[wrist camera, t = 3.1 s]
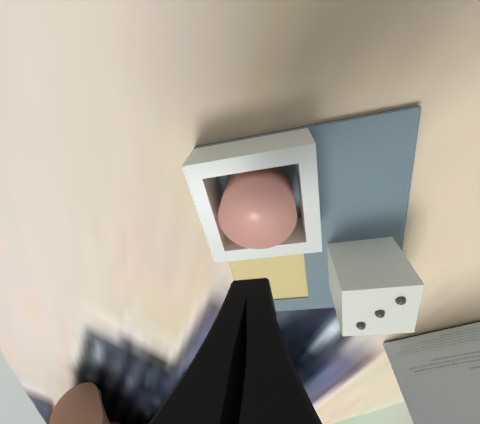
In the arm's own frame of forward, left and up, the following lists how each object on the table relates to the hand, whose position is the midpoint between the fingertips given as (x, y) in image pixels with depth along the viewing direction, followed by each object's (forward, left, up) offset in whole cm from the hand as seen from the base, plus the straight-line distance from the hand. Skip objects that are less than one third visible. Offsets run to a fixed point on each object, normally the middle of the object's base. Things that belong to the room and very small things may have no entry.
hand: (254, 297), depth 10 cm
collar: (0, 0, -9) cm, 9 cm away
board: (-3, +5, -9) cm, 11 cm away
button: (0, 0, -8) cm, 8 cm away
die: (-6, +8, -9) cm, 13 cm away
